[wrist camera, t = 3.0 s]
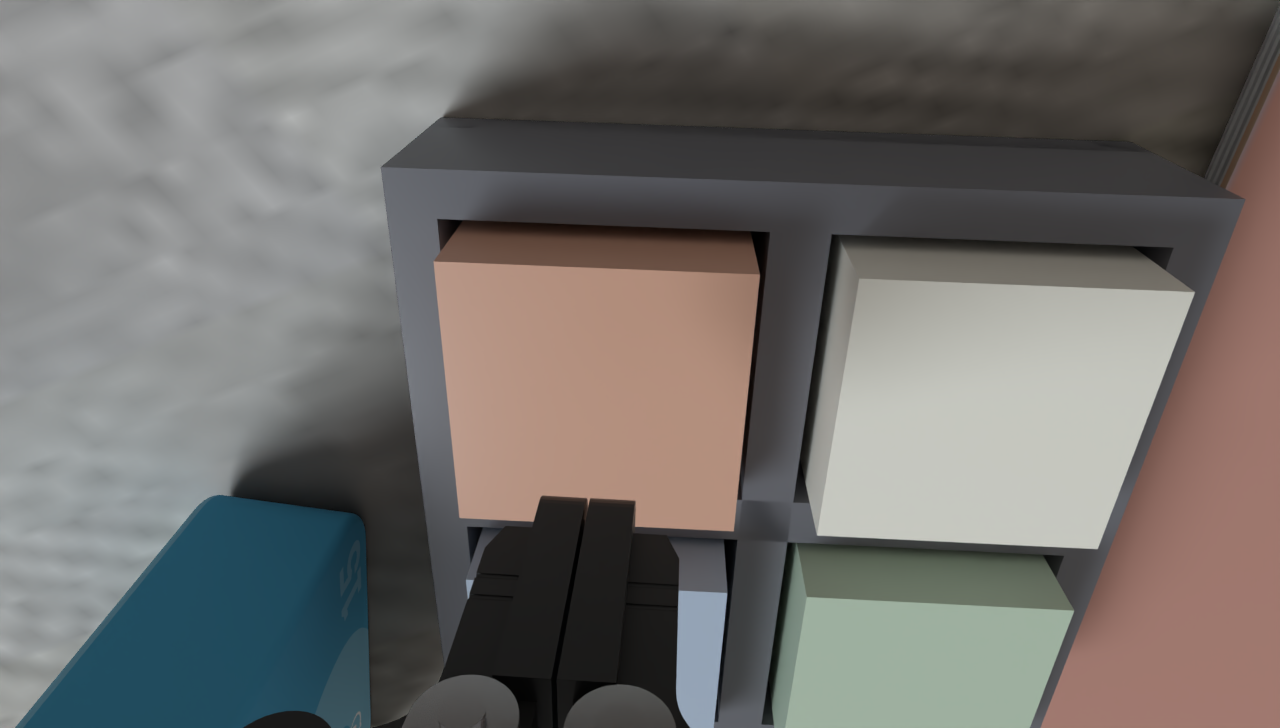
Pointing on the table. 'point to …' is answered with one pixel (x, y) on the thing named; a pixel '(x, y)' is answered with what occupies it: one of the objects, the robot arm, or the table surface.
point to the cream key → (982, 387)
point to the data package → (230, 628)
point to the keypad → (777, 296)
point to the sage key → (913, 637)
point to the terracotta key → (597, 367)
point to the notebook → (1204, 490)
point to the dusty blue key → (684, 621)
